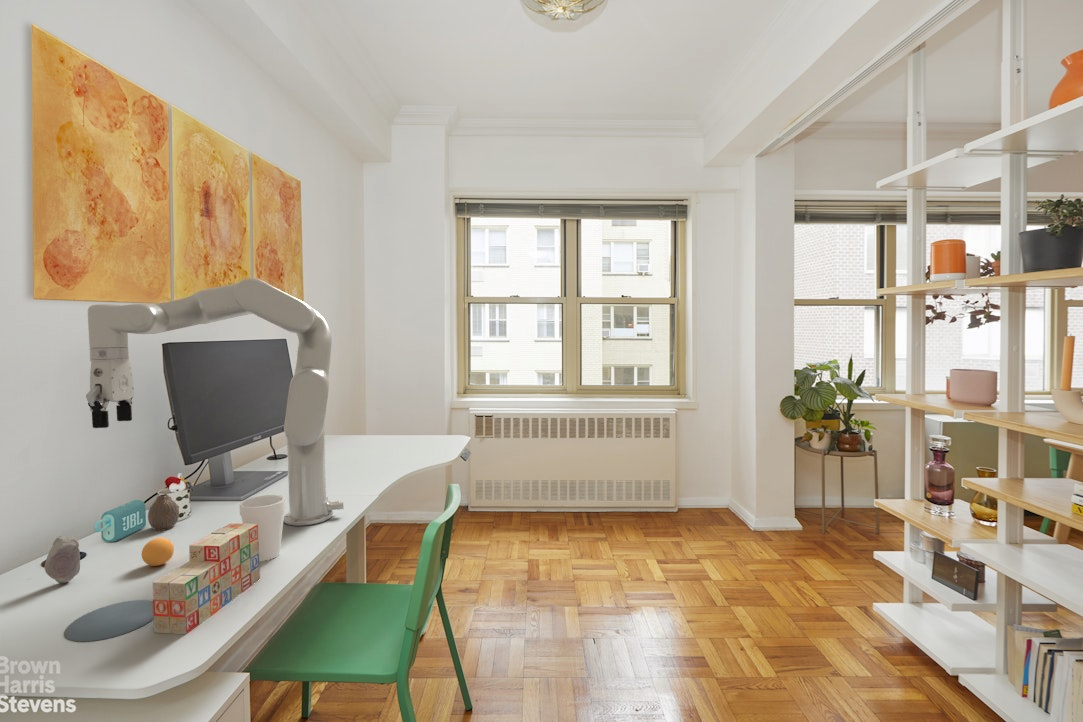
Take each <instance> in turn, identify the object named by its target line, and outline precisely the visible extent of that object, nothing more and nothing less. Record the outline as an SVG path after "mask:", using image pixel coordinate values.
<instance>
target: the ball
mask: <svg viewBox="0 0 1083 722" xmlns="http://www.w3.org/2000/svg"><path fill="white" fill-rule="evenodd" d="M174 547H175V545H174V544H173V543H172V541H171V540H169V539H167V538H165V537H156V538H152V539H151V540H149V541H148V542H147V543H145V544H144V546H143V548H142V549H141V559H142V561H143V562H144V563H145V564H147V565H148V566H151V567H159V566H162V565H164V564H167V562H169V561H170V559H172V557H173V555H174V552H175V548H174Z"/></svg>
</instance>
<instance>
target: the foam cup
mask: <svg viewBox="0 0 1083 722" xmlns="http://www.w3.org/2000/svg"><path fill="white" fill-rule="evenodd" d="M285 509H286V497H285V496H283V495H277V494H267V495H258V496H253V497H250V498H247V499H245V500H243V501H241V502H240V504H239V516H240V517H241V522H242V523H241V524H258V538H259V562H266V561H265V560H267V561H271V560H274V559H275V557H276V558H277V557H279V556H280V553H281V548H282V547H281V546H282V537H283V529H284V527H283V526H284V516H285ZM278 555H279V556H278ZM273 558H274V559H273ZM270 559H271V560H270Z"/></svg>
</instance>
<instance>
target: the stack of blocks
mask: <svg viewBox="0 0 1083 722" xmlns="http://www.w3.org/2000/svg"><path fill="white" fill-rule="evenodd" d="M188 547H189V549H188V551H189V552H188V553H189V561H187V562H186V563H184V564H182V565H181V566H178V567H176V568H175V569H173V570H171V571H170V572H168V573H166V574H165V575H163V576H161V577H159V578H157V579H156V580H154V581H153V582H152V596H153V597H152V601H153V615H154V619H153V629H154V633H157V634H160V633H161V634H175V635H177V634H178V635H187V634H188V633H190V632H191V631H192V630H193V629H195V628H196V627H198V626H200V625H201V624H202V623H204V622H205V621H206V620H208V619H209V618H210V617H212V616H214V614H216V613H218V612H220V610H221V609H223V607H225V606H226V605H228V604H229V603H231V602H232V601H233V600H234V599H236V597H238V596H239V595H241V594H242V593H244V592H245V591H247V590H248V589H249V588H251V587H252V586H253V585H255V584H256V583H258V582H259V581H260V580H261V572H260V571H261V570H260V569H261V567H260V561H259V538H258V524H243V523H229V524H227V525H225V526H223V527H220V528H218V529H216V530H214V531H212V532H211V533H209V534H207V535H205V536H203V537H202V538H200V539H199V540H196V541H195V542H193V543H191V544H190V545H189V546H188ZM259 579H260V580H259ZM258 580H259V581H258ZM254 583H255V584H254ZM250 586H251V587H250ZM246 589H247V590H246Z"/></svg>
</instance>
